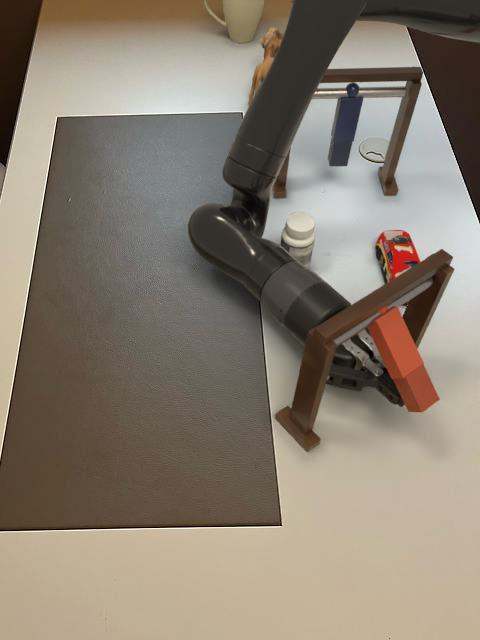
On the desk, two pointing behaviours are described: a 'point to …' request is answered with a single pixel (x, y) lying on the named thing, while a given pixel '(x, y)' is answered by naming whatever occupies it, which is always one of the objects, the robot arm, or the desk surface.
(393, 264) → the race car
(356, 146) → the desk surface
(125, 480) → the desk surface
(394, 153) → the far rack
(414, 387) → the two-tone orange prism
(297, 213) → the pill bottle
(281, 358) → the desk surface
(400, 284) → the near rack
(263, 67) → the lion figurine
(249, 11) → the mug
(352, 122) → the far pendulum
